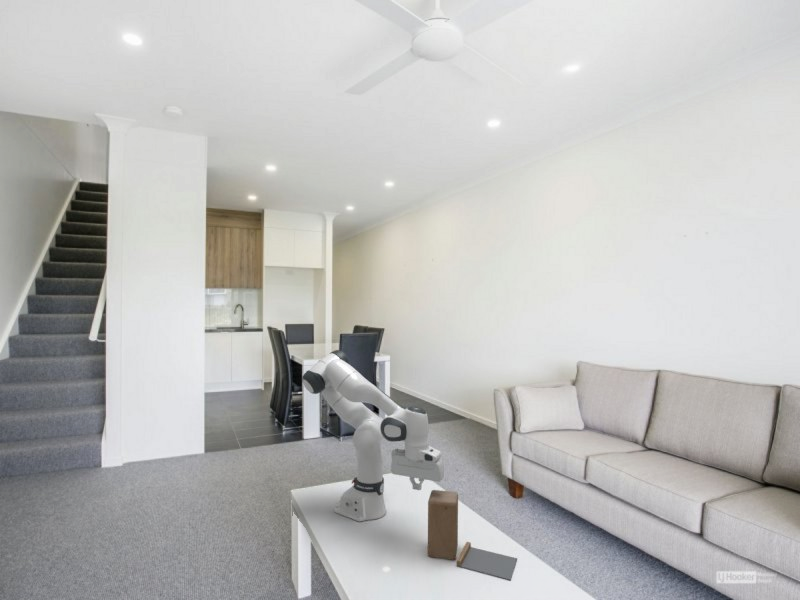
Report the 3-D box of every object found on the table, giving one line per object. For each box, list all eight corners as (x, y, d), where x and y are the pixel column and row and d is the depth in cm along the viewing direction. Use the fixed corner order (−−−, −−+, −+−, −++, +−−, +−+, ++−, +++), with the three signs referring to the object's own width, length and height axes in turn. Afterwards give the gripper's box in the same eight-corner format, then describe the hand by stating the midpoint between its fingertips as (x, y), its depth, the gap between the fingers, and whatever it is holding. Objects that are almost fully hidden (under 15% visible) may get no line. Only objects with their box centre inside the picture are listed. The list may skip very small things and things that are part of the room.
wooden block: (455, 561, 148) (456, 502, 148) (427, 557, 150) (427, 500, 150) (457, 545, 158) (458, 491, 158) (430, 542, 160) (431, 488, 160)
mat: (456, 566, 145) (456, 560, 145) (466, 547, 157) (466, 541, 157) (510, 580, 138) (510, 574, 138) (517, 559, 150) (517, 553, 150)
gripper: (387, 450, 160) (388, 487, 160) (439, 457, 152) (440, 497, 152) (395, 445, 166) (395, 481, 166) (445, 452, 158) (445, 490, 157)
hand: (417, 489), depth 159 cm, fingers closed
